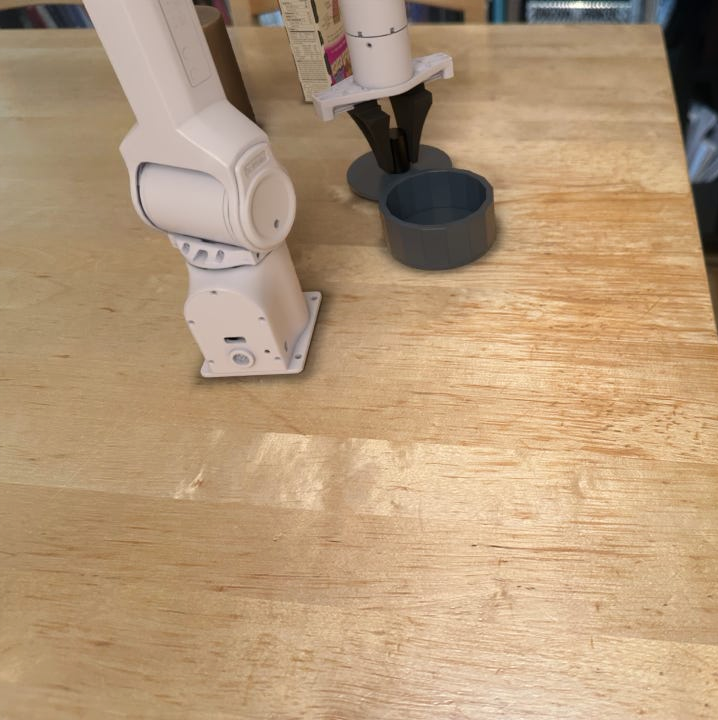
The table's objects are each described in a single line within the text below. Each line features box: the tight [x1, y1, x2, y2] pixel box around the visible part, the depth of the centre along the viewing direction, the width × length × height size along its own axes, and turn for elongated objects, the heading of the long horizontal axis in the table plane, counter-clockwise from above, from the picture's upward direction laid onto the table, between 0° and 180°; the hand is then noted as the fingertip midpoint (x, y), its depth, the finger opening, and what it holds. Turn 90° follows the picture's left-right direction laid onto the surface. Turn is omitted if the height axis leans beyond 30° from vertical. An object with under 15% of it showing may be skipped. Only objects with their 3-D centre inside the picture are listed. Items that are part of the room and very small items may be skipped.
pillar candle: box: [194, 4, 258, 126], centre depth 74 cm, size 10×10×15 cm
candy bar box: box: [276, 0, 353, 104], centre depth 83 cm, size 11×5×16 cm, turn 168°
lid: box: [346, 127, 453, 202], centre depth 68 cm, size 11×11×5 cm
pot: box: [377, 167, 497, 271], centre depth 61 cm, size 10×10×4 cm
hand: (398, 164), depth 69 cm, fingers closed on lid, 2 cm apart
